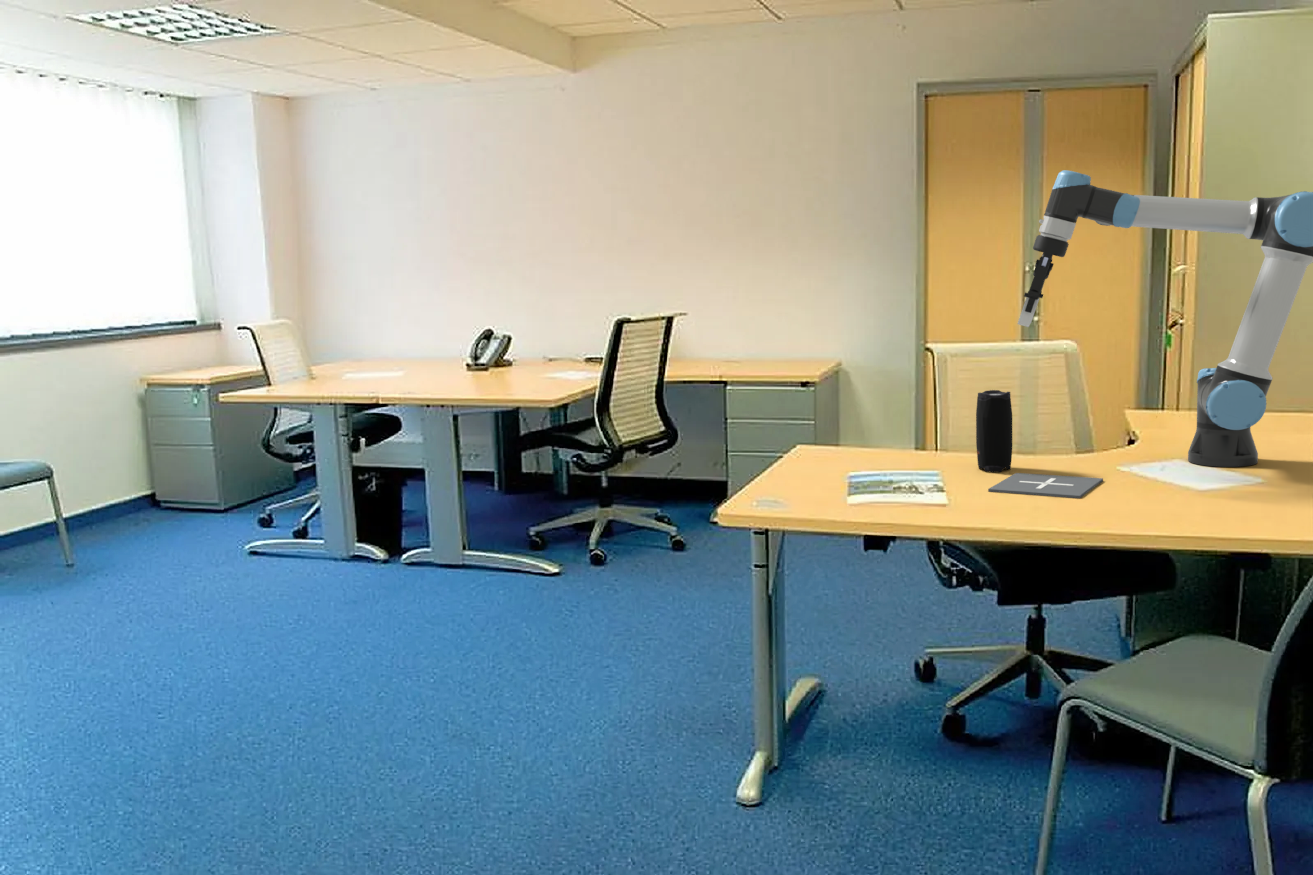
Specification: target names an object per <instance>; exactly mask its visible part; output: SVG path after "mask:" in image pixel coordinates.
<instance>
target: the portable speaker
mask: <svg viewBox="0 0 1313 875" xmlns="http://www.w3.org/2000/svg"><path fill="white" fill-rule="evenodd" d="M1011 400H1012V398H1011V391H1001V390H998V389H997V390H996V389H994V390H993V389H992V390H991V389H989V390H984V391H983V392H977V398H976V410H975V412H976V413H975V423H976V424H975V425H976V426H975V430H976V432H975V433H976V434H975V436H976V437H975V441H976V443H975V444H976V445H975V446H976V456H977V457H976V458H977V465H978V470H982V469H983V470H984V471H985V472H986V473H1001V472H1002V471H1003V470H1005V469H1007V470H1011V468H1012V459H1013V456H1012V455H1013V410H1012V408H1013V407H1012V401H1011Z"/></svg>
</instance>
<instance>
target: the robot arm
mask: <svg viewBox="0 0 1313 875" xmlns="http://www.w3.org/2000/svg"><path fill="white" fill-rule="evenodd" d="M1091 181H1092V177H1091V175H1088V174H1085V173H1080V172H1077V171H1073V170H1067V169H1065V170H1061V171H1059V172H1058V174H1057V177H1056V179H1055V181H1054V185H1053V186H1052V189H1051V191H1050V192H1051V193H1050V194H1049V198H1048V202H1047V205H1046V208H1045V211H1044V214H1043V217H1042V218H1043V219H1041V218H1040V219H1039V220H1038V223H1039V224H1041V225H1040V226H1039V229H1038V232H1039V233H1040V234H1038V235H1036V238H1035V240H1034V242H1033V247H1032V249H1033V251H1036V252H1039V253H1040V252H1041V253H1042V255H1041V256H1039V259H1036V261H1035V265H1034V270H1033V273H1032V275H1033V278H1032V281H1031V284H1030V287H1029V290H1028V291H1027V292H1024V295H1023V297H1025V300H1024V304H1023V307H1022V310H1021V312H1020V315H1019V317H1018V321H1017V325H1018V326H1024V327H1026V328H1030V325H1031V324H1032V322H1033V319H1034V316H1035V312H1036V309H1037V308H1038V303H1039V301H1040V299H1043V297H1044V294H1043V292H1042V290H1043V287H1044V285H1045V281H1046V280H1047V279H1048V278H1049V276H1050V273H1051V271H1052V270H1053V267H1054V264H1055V263H1053V256H1055V257H1059V258H1064V257H1065V256H1066V253H1067V250H1068V248H1069V242H1068V241H1070V240H1072V236H1073V234H1074V231H1075V228H1076V225H1077V221H1078V218H1079V217H1080V218H1082V219H1087V220H1090V221H1094V222H1095V223H1096V224H1099V225H1100V226H1106V227H1107V226H1109V227H1110V226H1114V227H1115V228H1122V229H1130V228H1131V227H1136V228H1147V229H1149V228H1150V229H1164V230H1165V229H1166V230H1177V231H1178V230H1179V231H1193V232H1194V231H1195V232H1207V233H1221V234H1222V233H1223V234H1237V235H1238V234H1239V235H1243V236H1244V237H1245V238H1246V239H1247V240H1258V241H1262V243H1261V245H1260V249H1261V251H1262V252H1263V254H1264V259H1263V261H1262V264H1261V267H1260V269H1259V273H1258V275H1257V278H1256V281H1255V283H1254V286H1253V288H1252V292H1251V294H1250V296H1249V300H1248V303H1247V306H1246V308H1245V310H1244V313H1243V316H1242V319H1241V321H1240V324H1239V327H1238V329H1237V332H1236V335H1235V338H1234V340H1233V343H1232V345H1231V349H1230V351H1229V353H1228V357H1227V358H1226V359H1225V360H1223V361H1220V362H1218V363H1217V365H1216V367H1212V368H1211V367H1210V368H1209V367H1208V368H1207V367H1206V368H1202V369H1200V370H1199V371H1198V373H1197V379H1196V383H1197V396H1196V402H1197V403H1196V430H1195V433H1194V436H1193V439H1192V441H1191V444H1190V447H1189V449H1188V452H1187V461H1188V462H1189V463H1192V464H1195V465H1200V466H1206V467H1207V466H1208V467H1218V468H1219V467H1221V468H1223V467H1224V468H1225V467H1226V468H1236V467H1248V466H1254V465H1256V464H1258V462H1259V459H1258V458H1259V452H1258V449H1257V447H1256V444H1255V441H1254V437H1253V435H1252V432H1251V430H1252V429H1251V428H1252V427H1253V426H1254V425H1256V424H1257V423H1258V422H1260V421H1261V419H1262V418H1263V417H1264V414H1265V413H1266V410H1267V409H1266V408H1267V394H1268V392H1269V389H1270V386H1271V383H1272V381H1273V377H1272V376H1273V375H1271V373H1270V370H1269V368H1270V365H1271V363H1272V361H1273V357H1274V355H1275V352H1276V350H1277V347H1278V344H1279V342H1280V339H1281V336H1282V335H1283V330H1284V328H1285V326H1286V323H1287V320H1288V318H1289V316H1290V313H1291V310H1292V307H1293V305H1294V302H1295V299H1296V296H1297V295H1298V292H1299V289H1300V286H1301V284H1302V282H1303V278H1304V276H1305V273H1306V271H1307V268H1308V267H1309V266H1310V265H1311V264H1313V191H1306V190H1304V191H1299V192H1295V193H1291V194H1287V195H1282V196H1274V197H1272V196H1271V197H1261V196H1260V197H1259V196H1258V197H1257V196H1256V197H1255V196H1254V197H1253V198H1252V199H1250V200H1233V199H1215V198H1197V197H1180V196H1179V197H1177V196H1164V195H1163V196H1159V195H1146V194H1142V195H1140V194H1129V193H1127V192H1126V193H1125V192H1121V191H1115V190H1112V189H1107V188H1103V187H1098V186H1095V185H1093V184H1092V185H1091Z"/></svg>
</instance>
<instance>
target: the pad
mask: <svg viewBox="0 0 1313 875" xmlns="http://www.w3.org/2000/svg"><path fill="white" fill-rule="evenodd" d="M1103 481H1104V478H1103V477H1090V476H1089V477H1088V476H1086V477H1085V476H1071V475H1056V474H1040V473H1039V474H1038V473H1027V472H1026V473H1025V472H1024V473H1023V472H1014V474H1011V475H1009V476H1008V477H1007V478H1005V479H1003V480H1001V481H1000V482H998V483H996V484H994V485H993V486H991V487H989V488H987V489H988V490H987V492H991V493H1000V494H1002V493H1003V494H1016V495H1029V496H1040V497H1041V496H1043V497H1055V498H1068V499H1081V498H1083V497H1084V496H1085V495H1086V494H1088V493H1089V492H1091V491H1092V490H1093V489H1094V488H1095V487H1097V486H1098V485H1100V484H1101V483H1102V482H1103Z"/></svg>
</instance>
